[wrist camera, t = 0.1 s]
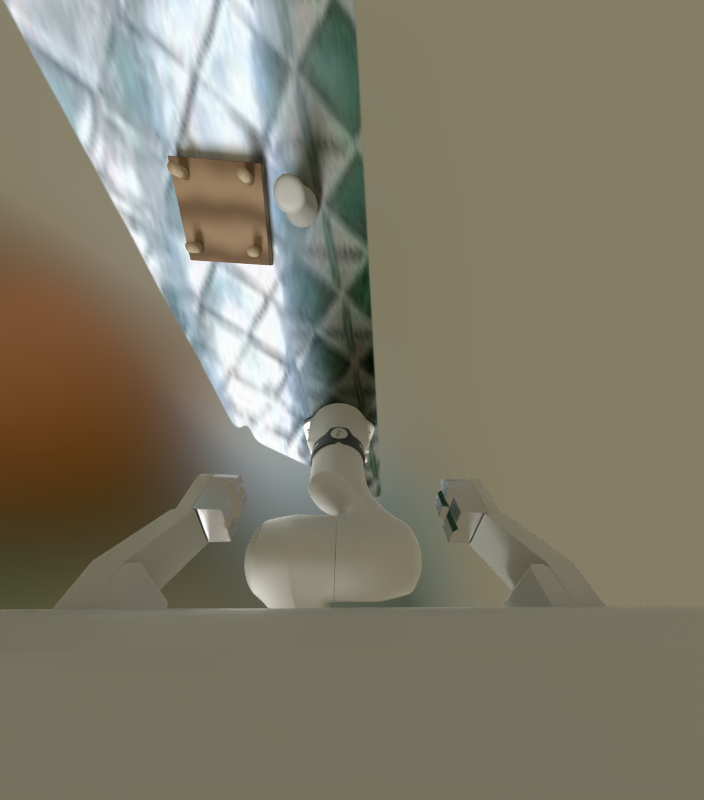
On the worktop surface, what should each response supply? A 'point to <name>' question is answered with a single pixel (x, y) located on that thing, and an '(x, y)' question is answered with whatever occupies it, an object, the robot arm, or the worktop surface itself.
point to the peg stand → (223, 209)
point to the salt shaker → (295, 200)
